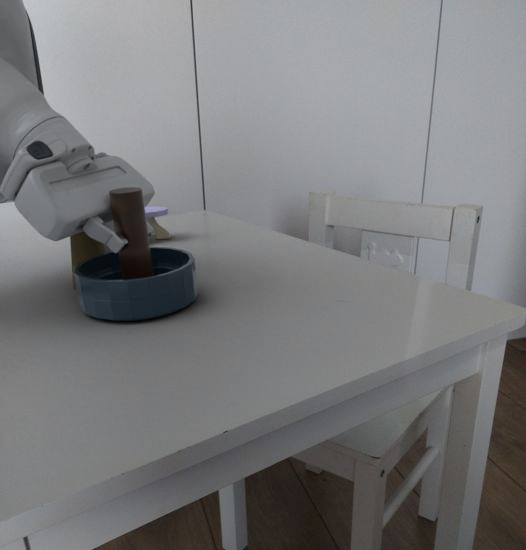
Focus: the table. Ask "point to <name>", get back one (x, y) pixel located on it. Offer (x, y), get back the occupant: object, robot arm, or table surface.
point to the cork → (83, 250)
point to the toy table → (155, 212)
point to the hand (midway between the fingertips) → (136, 242)
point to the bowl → (136, 286)
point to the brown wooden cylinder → (132, 232)
